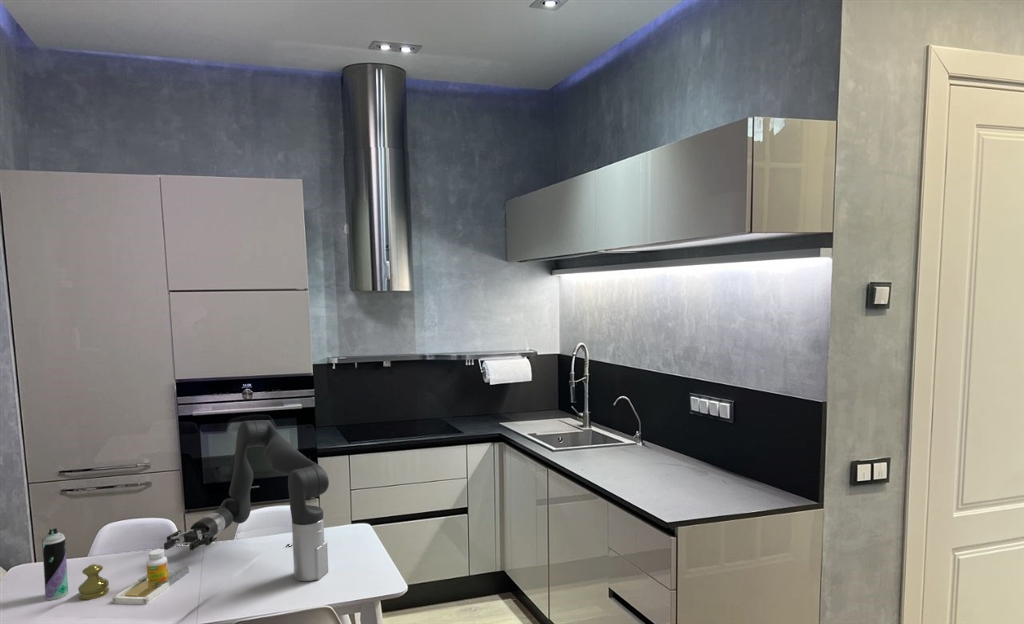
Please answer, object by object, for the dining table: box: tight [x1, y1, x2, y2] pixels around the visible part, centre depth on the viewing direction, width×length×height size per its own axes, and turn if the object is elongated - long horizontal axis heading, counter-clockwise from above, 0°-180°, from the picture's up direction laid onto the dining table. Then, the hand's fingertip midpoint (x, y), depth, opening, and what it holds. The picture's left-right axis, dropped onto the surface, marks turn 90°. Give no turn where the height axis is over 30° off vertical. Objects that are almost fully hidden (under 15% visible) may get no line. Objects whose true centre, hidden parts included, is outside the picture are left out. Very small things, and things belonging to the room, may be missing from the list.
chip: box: [136, 581, 159, 595], centre depth 189 cm, size 4×4×3 cm
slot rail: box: [137, 565, 190, 588], centre depth 196 cm, size 10×9×4 cm
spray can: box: [41, 527, 69, 601], centre depth 190 cm, size 6×6×20 cm
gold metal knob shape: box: [77, 563, 110, 601], centre depth 188 cm, size 7×7×10 cm
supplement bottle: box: [146, 548, 169, 588], centre depth 193 cm, size 5×5×10 cm
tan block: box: [125, 587, 148, 597], centre depth 185 cm, size 4×4×3 cm
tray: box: [111, 581, 170, 605], centre depth 186 cm, size 10×10×3 cm
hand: (178, 547), depth 203 cm, fingers open, 8 cm apart
